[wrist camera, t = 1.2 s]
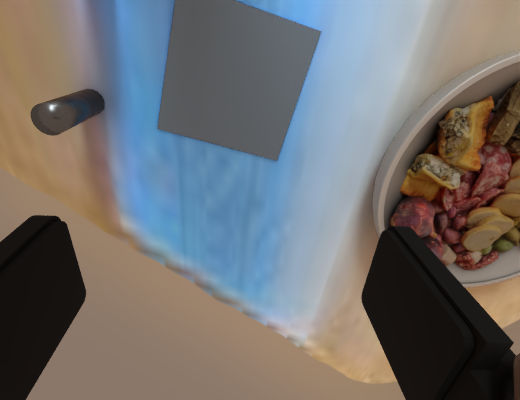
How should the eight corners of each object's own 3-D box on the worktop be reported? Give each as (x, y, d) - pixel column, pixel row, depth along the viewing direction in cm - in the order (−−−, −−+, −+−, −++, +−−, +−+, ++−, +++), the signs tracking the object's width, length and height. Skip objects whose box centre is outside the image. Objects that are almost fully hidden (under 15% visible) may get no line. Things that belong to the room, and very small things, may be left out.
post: (78, 85, 31) (29, 99, 24) (105, 93, 31) (65, 108, 24) (78, 110, 32) (31, 130, 25) (103, 117, 32) (65, 138, 25)
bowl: (549, -31, 28) (648, -53, 21) (635, 166, 39) (719, 193, 32) (315, 182, 38) (332, 214, 31) (436, 293, 49) (469, 335, 42)
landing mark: (178, -20, 27) (177, -20, 27) (320, 31, 29) (321, 31, 29) (157, 128, 33) (157, 128, 33) (276, 160, 36) (276, 160, 35)
